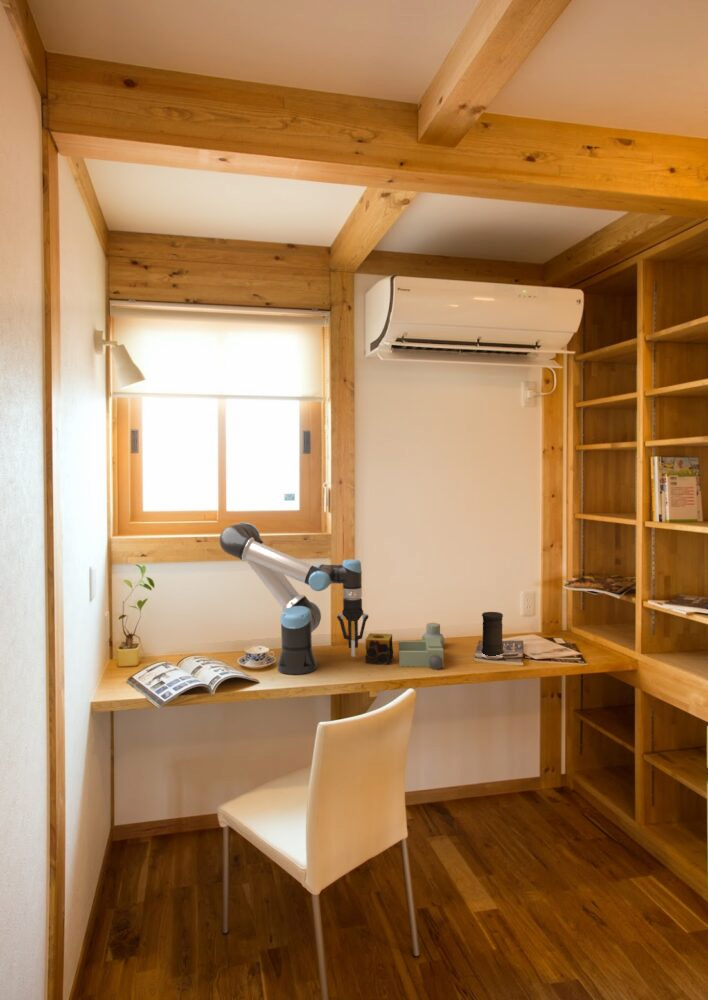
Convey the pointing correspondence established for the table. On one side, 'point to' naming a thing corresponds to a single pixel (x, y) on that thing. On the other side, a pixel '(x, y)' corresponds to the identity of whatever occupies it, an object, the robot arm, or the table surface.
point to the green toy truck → (421, 653)
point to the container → (492, 633)
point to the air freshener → (433, 632)
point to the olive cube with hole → (379, 649)
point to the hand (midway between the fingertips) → (353, 655)
